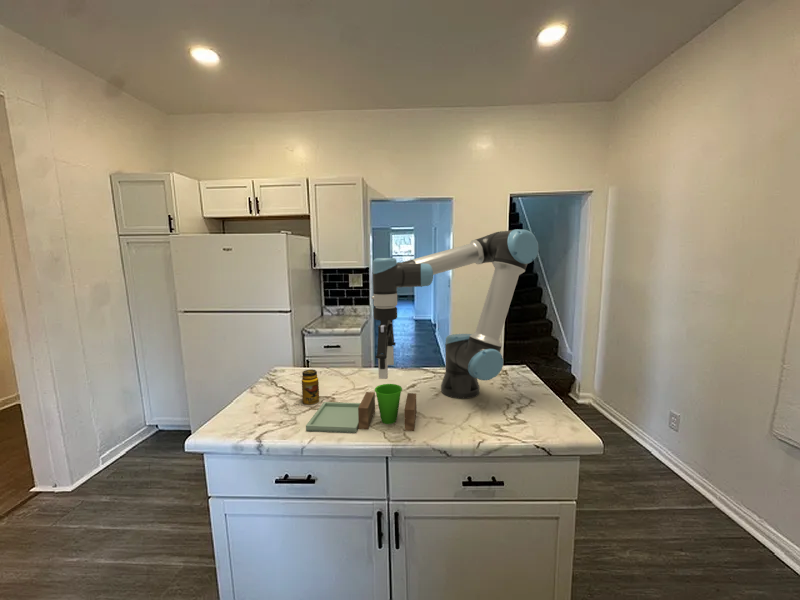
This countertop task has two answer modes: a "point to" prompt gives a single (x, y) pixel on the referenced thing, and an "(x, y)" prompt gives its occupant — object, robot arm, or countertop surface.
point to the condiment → (310, 389)
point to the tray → (335, 418)
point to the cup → (388, 402)
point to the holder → (368, 410)
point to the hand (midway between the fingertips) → (386, 371)
